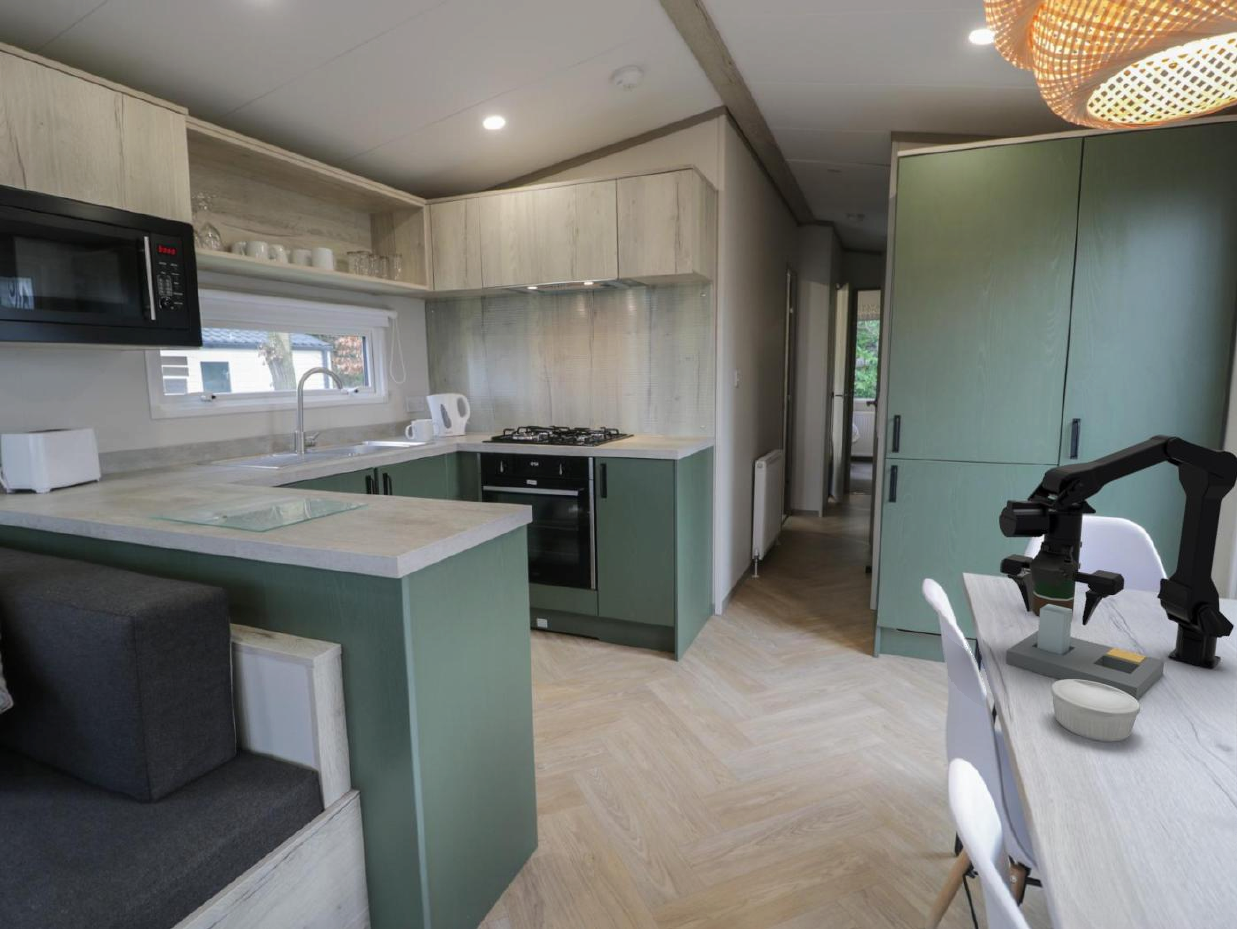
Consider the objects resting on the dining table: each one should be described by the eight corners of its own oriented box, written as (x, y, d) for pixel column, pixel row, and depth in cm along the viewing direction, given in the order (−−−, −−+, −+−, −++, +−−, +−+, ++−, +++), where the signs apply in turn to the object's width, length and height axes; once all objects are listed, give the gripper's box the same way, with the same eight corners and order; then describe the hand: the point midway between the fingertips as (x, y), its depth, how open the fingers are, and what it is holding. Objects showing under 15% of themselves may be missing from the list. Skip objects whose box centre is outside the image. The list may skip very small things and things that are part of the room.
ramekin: (1135, 721, 107) (1138, 689, 106) (1139, 755, 97) (1143, 720, 97) (1050, 702, 113) (1052, 672, 112) (1047, 732, 104) (1049, 700, 103)
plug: (1044, 653, 132) (1048, 603, 130) (1068, 660, 128) (1072, 609, 127) (1036, 659, 129) (1040, 608, 128) (1060, 666, 126) (1064, 614, 125)
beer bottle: (1071, 623, 146) (1080, 514, 143) (1029, 616, 151) (1037, 509, 148) (1073, 613, 153) (1082, 507, 149) (1033, 606, 157) (1041, 504, 154)
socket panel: (1039, 640, 138) (1040, 628, 137) (1162, 674, 122) (1164, 659, 122) (1005, 662, 128) (1006, 649, 127) (1135, 702, 112) (1137, 686, 112)
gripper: (989, 534, 128) (985, 614, 130) (1107, 554, 113) (1099, 644, 115) (1014, 525, 135) (1009, 601, 137) (1128, 543, 120) (1121, 628, 122)
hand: (1056, 617), depth 128 cm, fingers open, 9 cm apart
